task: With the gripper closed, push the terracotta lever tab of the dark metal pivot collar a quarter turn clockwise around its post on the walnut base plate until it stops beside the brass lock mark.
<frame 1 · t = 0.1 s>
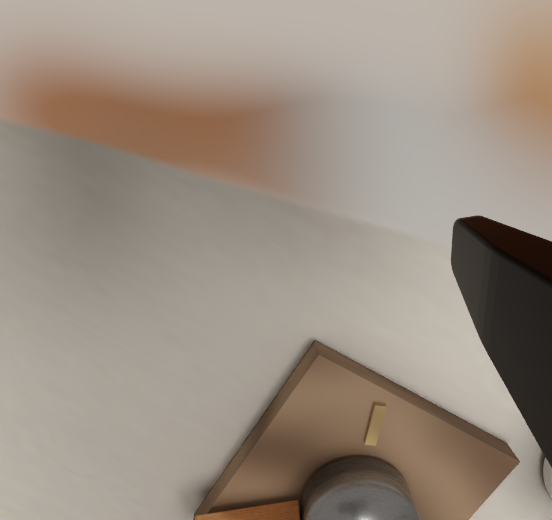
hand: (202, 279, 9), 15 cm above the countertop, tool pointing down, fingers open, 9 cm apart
base plate: (348, 479, 30), on the countertop
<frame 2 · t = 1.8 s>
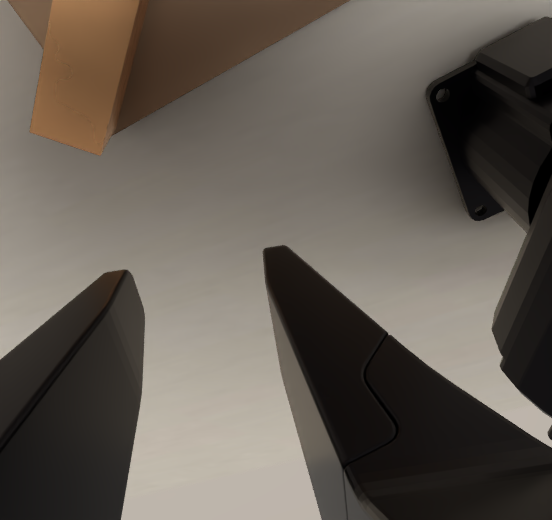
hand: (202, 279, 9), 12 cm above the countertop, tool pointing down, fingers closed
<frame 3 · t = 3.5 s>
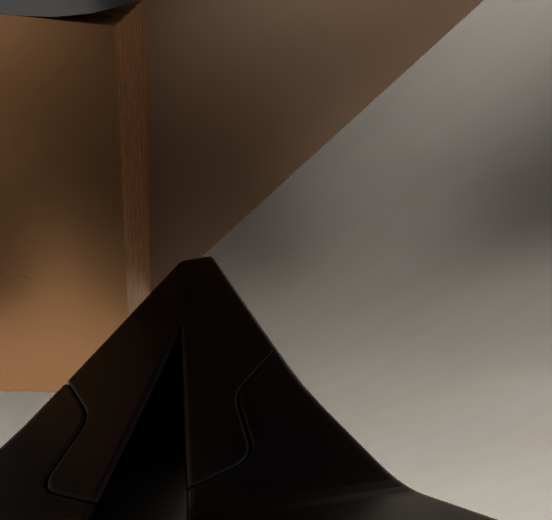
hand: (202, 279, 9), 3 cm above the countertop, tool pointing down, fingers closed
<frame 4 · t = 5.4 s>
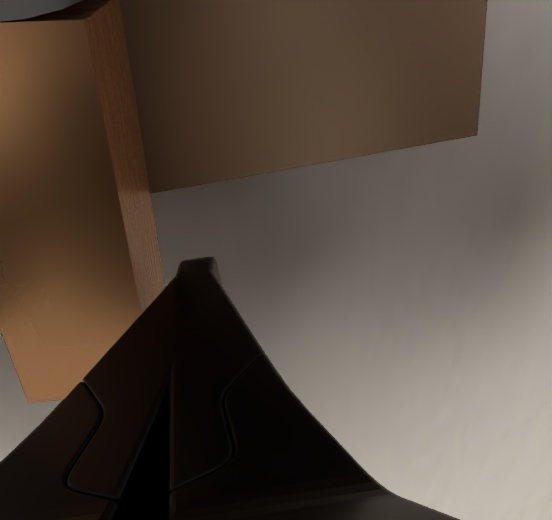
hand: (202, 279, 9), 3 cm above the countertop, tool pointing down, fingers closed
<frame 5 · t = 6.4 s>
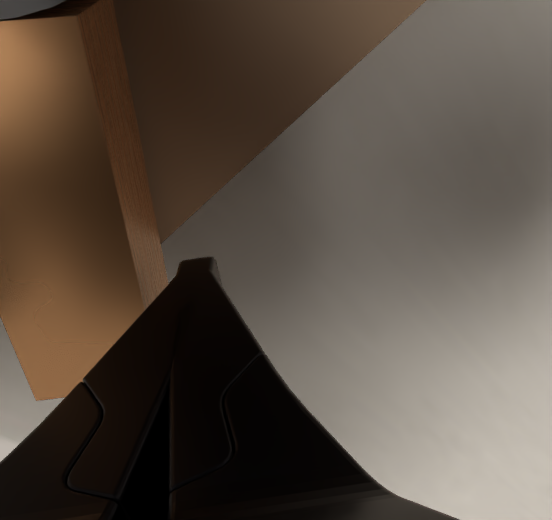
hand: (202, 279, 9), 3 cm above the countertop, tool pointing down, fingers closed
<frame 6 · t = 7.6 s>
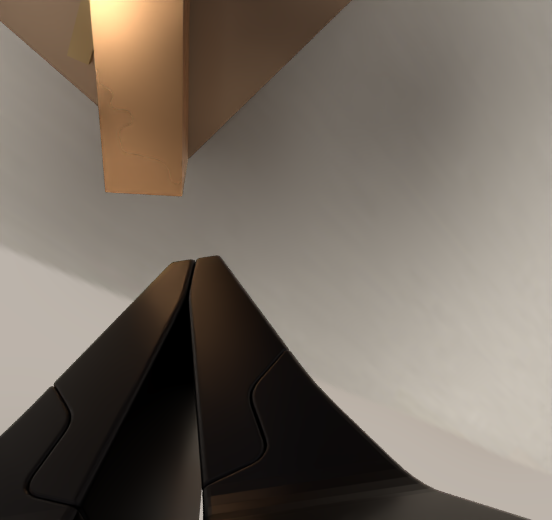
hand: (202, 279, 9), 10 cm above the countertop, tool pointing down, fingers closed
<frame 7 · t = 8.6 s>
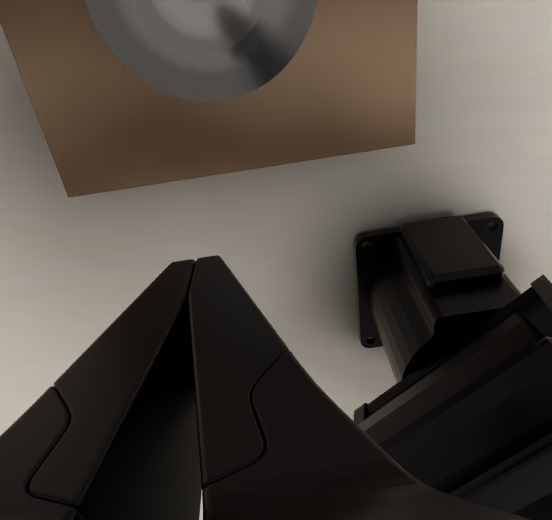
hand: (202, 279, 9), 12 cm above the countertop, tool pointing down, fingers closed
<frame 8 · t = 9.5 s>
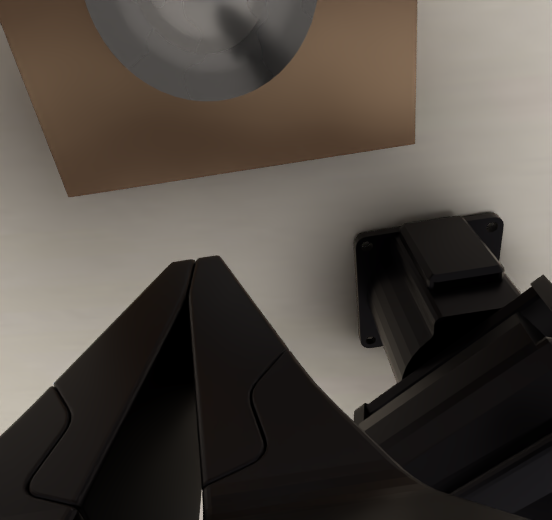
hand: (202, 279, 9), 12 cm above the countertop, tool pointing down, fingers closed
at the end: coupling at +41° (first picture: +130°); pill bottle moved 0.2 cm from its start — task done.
